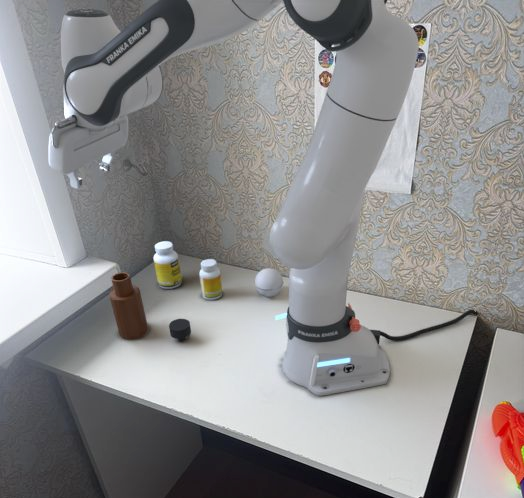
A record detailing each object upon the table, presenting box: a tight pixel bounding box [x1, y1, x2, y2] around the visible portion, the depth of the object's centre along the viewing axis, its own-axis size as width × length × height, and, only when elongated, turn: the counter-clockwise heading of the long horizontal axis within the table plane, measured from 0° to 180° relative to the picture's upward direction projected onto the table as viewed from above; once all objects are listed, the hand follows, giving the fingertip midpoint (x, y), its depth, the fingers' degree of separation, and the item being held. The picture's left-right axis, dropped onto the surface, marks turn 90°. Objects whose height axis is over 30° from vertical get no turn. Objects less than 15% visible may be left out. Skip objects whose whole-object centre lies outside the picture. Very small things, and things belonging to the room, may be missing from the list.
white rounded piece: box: [254, 267, 289, 298], centre depth 128 cm, size 10×7×7 cm
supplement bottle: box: [198, 258, 223, 301], centre depth 129 cm, size 5×5×10 cm
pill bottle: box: [153, 240, 183, 290], centre depth 134 cm, size 6×6×12 cm
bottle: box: [108, 271, 149, 341], centre depth 116 cm, size 7×7×15 cm
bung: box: [168, 318, 192, 343], centre depth 116 cm, size 5×5×4 cm
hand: (91, 178), depth 103 cm, fingers open, 8 cm apart
